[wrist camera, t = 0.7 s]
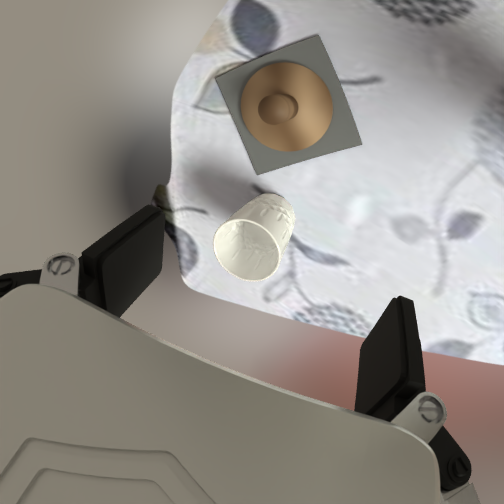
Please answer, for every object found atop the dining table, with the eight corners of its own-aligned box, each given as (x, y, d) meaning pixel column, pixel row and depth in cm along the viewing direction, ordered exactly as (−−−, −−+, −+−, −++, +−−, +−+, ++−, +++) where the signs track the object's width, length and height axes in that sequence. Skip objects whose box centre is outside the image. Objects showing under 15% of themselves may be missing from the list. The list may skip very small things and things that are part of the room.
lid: (311, 50, 29) (301, 43, 24) (346, 135, 33) (343, 144, 28) (229, 83, 34) (208, 84, 29) (263, 161, 38) (246, 173, 33)
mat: (319, 35, 28) (318, 35, 28) (362, 144, 33) (362, 144, 33) (216, 78, 34) (215, 78, 34) (258, 174, 39) (257, 175, 39)
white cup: (233, 211, 44) (200, 244, 36) (271, 176, 39) (243, 204, 31) (271, 251, 45) (247, 292, 37) (311, 221, 40) (295, 260, 32)
